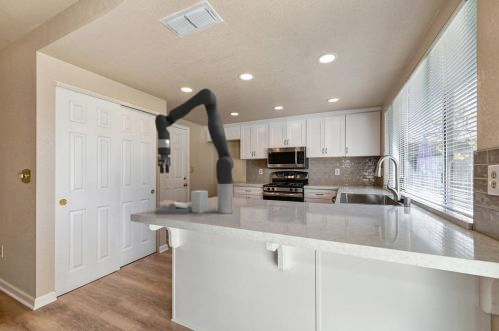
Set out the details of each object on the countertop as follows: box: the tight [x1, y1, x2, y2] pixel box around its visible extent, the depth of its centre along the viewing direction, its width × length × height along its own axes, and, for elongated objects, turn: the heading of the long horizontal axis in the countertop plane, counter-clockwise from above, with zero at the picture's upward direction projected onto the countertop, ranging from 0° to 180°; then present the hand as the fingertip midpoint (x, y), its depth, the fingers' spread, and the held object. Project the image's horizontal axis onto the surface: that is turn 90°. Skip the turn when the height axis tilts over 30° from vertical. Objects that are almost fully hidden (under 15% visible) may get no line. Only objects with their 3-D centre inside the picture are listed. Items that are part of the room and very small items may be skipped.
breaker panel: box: [155, 200, 191, 215], centre depth 133 cm, size 18×12×6 cm, turn 89°
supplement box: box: [190, 189, 209, 214], centre depth 132 cm, size 7×7×13 cm
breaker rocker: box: [159, 199, 191, 208], centre depth 133 cm, size 16×8×1 cm, turn 89°
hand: (164, 173), depth 136 cm, fingers open, 8 cm apart
